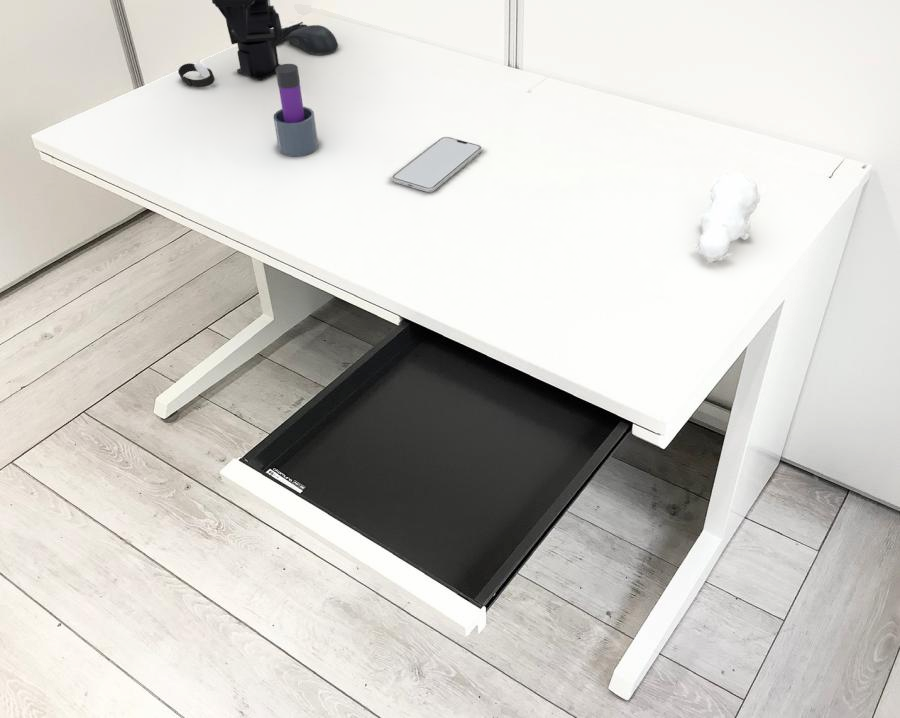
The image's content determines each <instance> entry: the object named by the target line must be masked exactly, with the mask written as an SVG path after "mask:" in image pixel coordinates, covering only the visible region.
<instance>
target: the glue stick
mask: <svg viewBox="0 0 900 718" xmlns="http://www.w3.org/2000/svg"><path fill="white" fill-rule="evenodd" d="M275 75H276V81H277V86H278V90H279V97H280V103H281V109H282V110H283V117H284V123H297V122H301V121H304V120H305V117H304V110H303V107H304V103H303V97H302V90H301V81H300V73H299V67H298V66H297V64H294V63H283V64H280V65H279V66H278V67H276V74H275Z"/></svg>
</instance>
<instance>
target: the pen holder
mask: <svg viewBox="0 0 900 718" xmlns="http://www.w3.org/2000/svg"><path fill="white" fill-rule="evenodd" d="M303 110H304V117H305V120H304V121H301V122H297V123H284V117H283V110H282V108H281V109H278V110H277V111H276V112H275V113H274V114H273V124H274V128H275V135H276V142H277V147H278V151H279V152H280V153H281V154H282V155H283V156H288V157H295V158H296V157H304V156H308V155H310V154H312V153H314V152H316V151H317V149H318V148H319V140H318V132H317V125H316V118H315V112H314V110H313V109H312V108H310V107H307V106H303Z"/></svg>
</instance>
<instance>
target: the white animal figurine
mask: <svg viewBox="0 0 900 718" xmlns="http://www.w3.org/2000/svg"><path fill="white" fill-rule="evenodd" d="M709 192H710V195H709V196H710V200H711V202H710V204H709V206H708V208H707V210H706V211H705V212H704V213H703V214H702V216H701V219H700V227H701V232H702V234H701V235H700V237H699V240H698V245H697V244H696V243H694V242H693V243H694V246H695V248H696V249H697V250H698V251H699V252H698V254H699V255H701V256H702V257H704V259H706V261H707V262H708V263H709V264H710V263H711V264H712V263H713V262H715V261H724V260H727V257H729V256H731V255H733V253H732V252H731V253H728V250H729V248H730V244H731V243H732V242H733V241H736V240H739V239H741V240H743V241H745V240H748V238H749V232H750V230H751V228H752V224H751V223H748V221H749V220H750V217H751V215H752V214H753V213H754V212H755V211H756V209H757V207H758V204H759V203H760V201H761V195H760V193H759V190H758V186H757V183H756V182H755V180H754V179H753V178H751V177H749V176H747V175H745V174H744V173H741V172H732V173H725V174H723V175H721V176H720V177H719V178H718V179H717V181H716V182H715V184H714V185H713V186H712V187H711V188H710V190H709ZM726 253H727V254H726Z"/></svg>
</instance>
